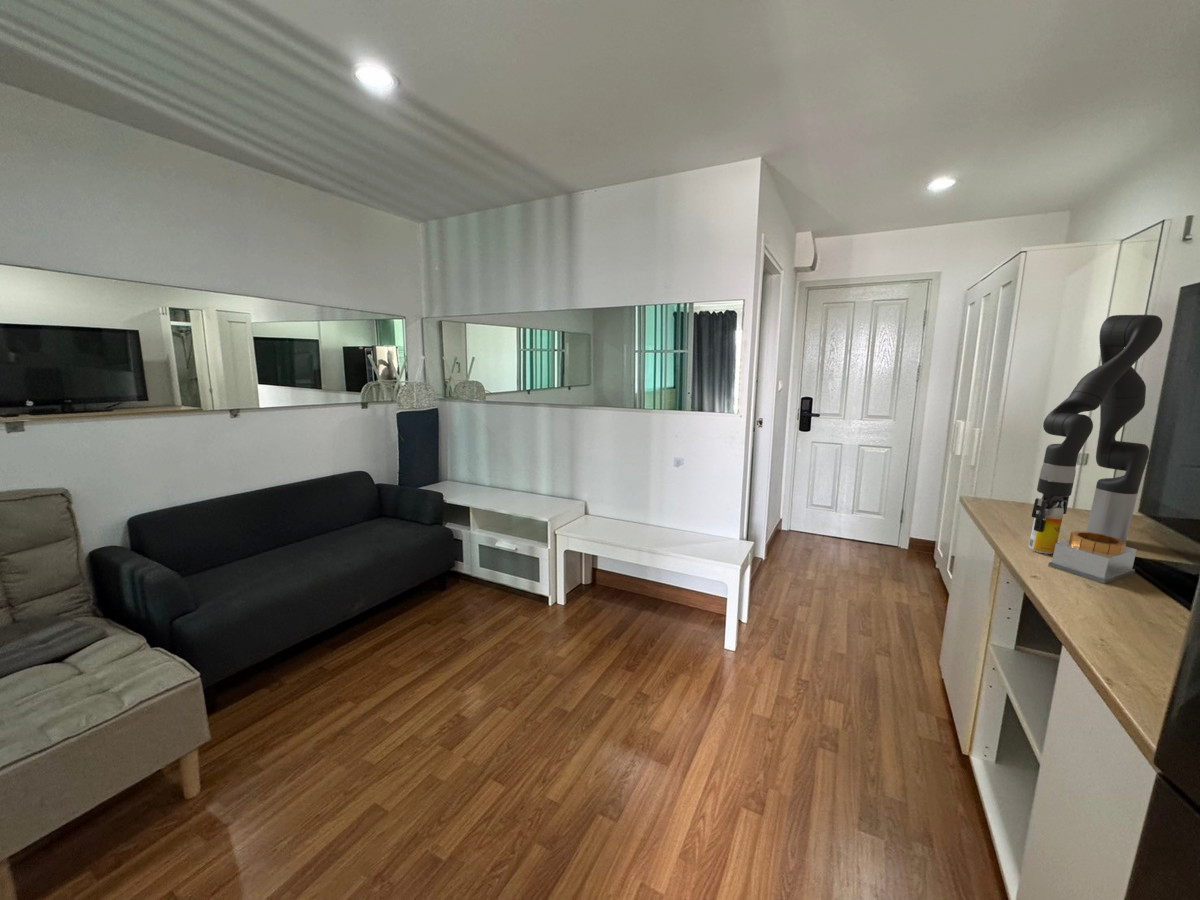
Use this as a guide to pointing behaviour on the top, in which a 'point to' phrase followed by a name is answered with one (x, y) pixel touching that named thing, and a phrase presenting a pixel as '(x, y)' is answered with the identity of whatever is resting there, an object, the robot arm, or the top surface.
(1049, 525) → the beer can
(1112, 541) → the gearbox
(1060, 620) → the top surface
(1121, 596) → the top surface
